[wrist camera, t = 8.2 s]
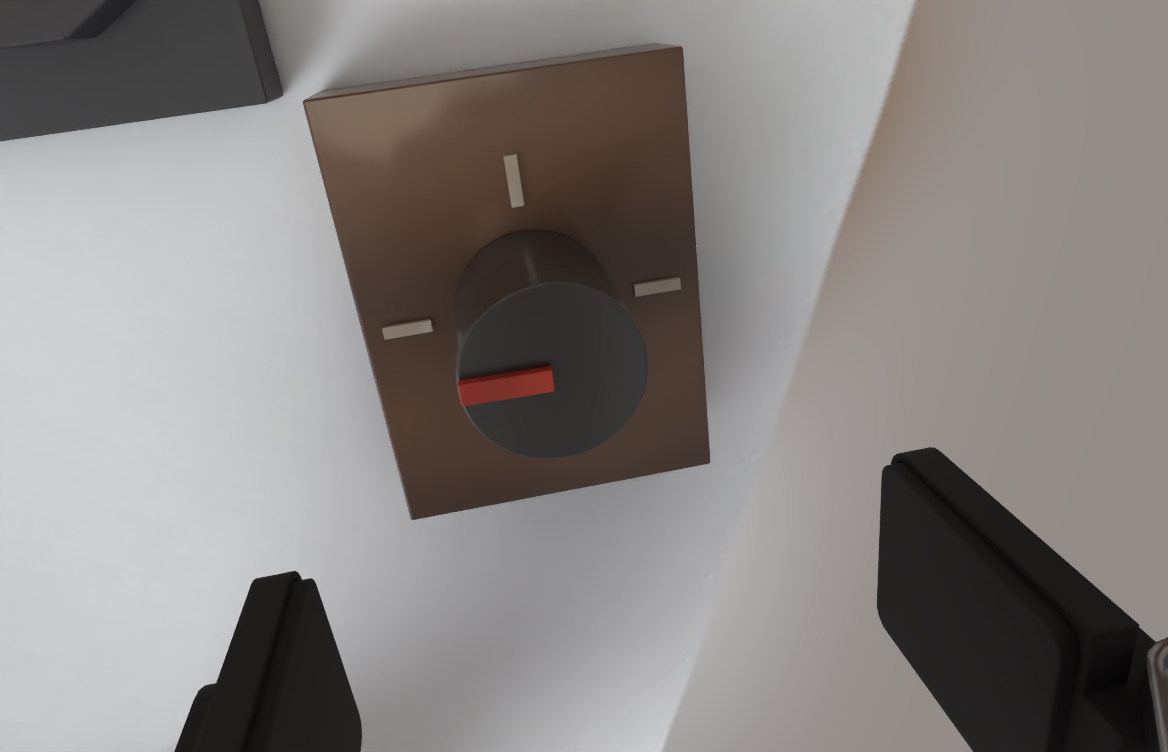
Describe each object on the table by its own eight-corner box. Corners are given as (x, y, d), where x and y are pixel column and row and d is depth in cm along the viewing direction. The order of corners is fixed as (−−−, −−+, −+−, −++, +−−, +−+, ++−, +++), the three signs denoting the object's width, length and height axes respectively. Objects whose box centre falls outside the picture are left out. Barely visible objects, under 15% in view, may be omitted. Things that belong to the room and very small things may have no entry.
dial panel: (686, 423, 29) (712, 466, 27) (414, 473, 28) (410, 524, 26) (656, 42, 24) (685, 45, 21) (319, 90, 23) (300, 100, 20)
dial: (603, 218, 23) (644, 271, 18) (618, 365, 25) (658, 449, 20) (441, 242, 22) (439, 303, 17) (469, 390, 24) (473, 481, 19)
